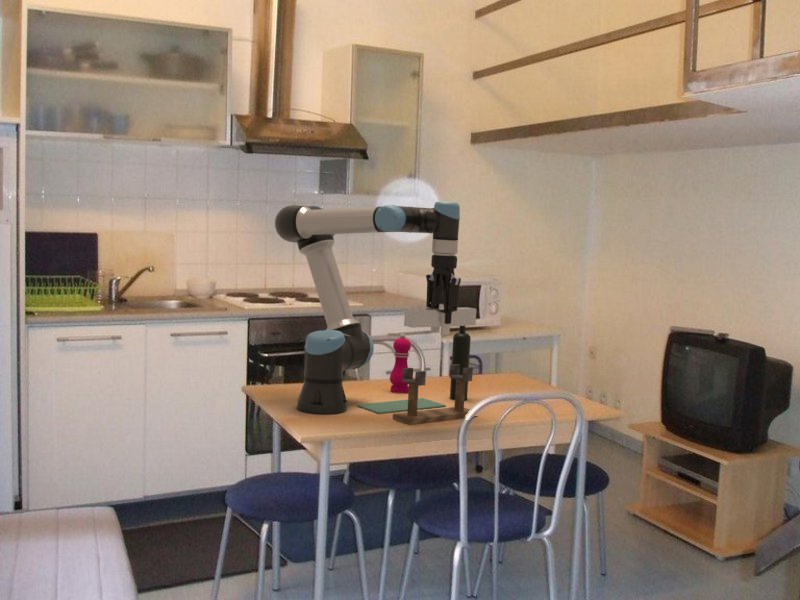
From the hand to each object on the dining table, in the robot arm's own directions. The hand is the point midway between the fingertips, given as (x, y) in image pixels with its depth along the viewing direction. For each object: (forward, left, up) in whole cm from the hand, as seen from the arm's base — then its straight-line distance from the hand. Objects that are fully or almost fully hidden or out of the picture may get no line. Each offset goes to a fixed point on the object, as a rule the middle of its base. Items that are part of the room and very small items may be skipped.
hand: (440, 333), depth 260 cm
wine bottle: (+25, +19, -26) cm, 41 cm away
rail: (0, 0, +2) cm, 2 cm away
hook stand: (0, 0, -25) cm, 25 cm away
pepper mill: (+14, +37, -26) cm, 47 cm away
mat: (0, +17, -25) cm, 30 cm away
